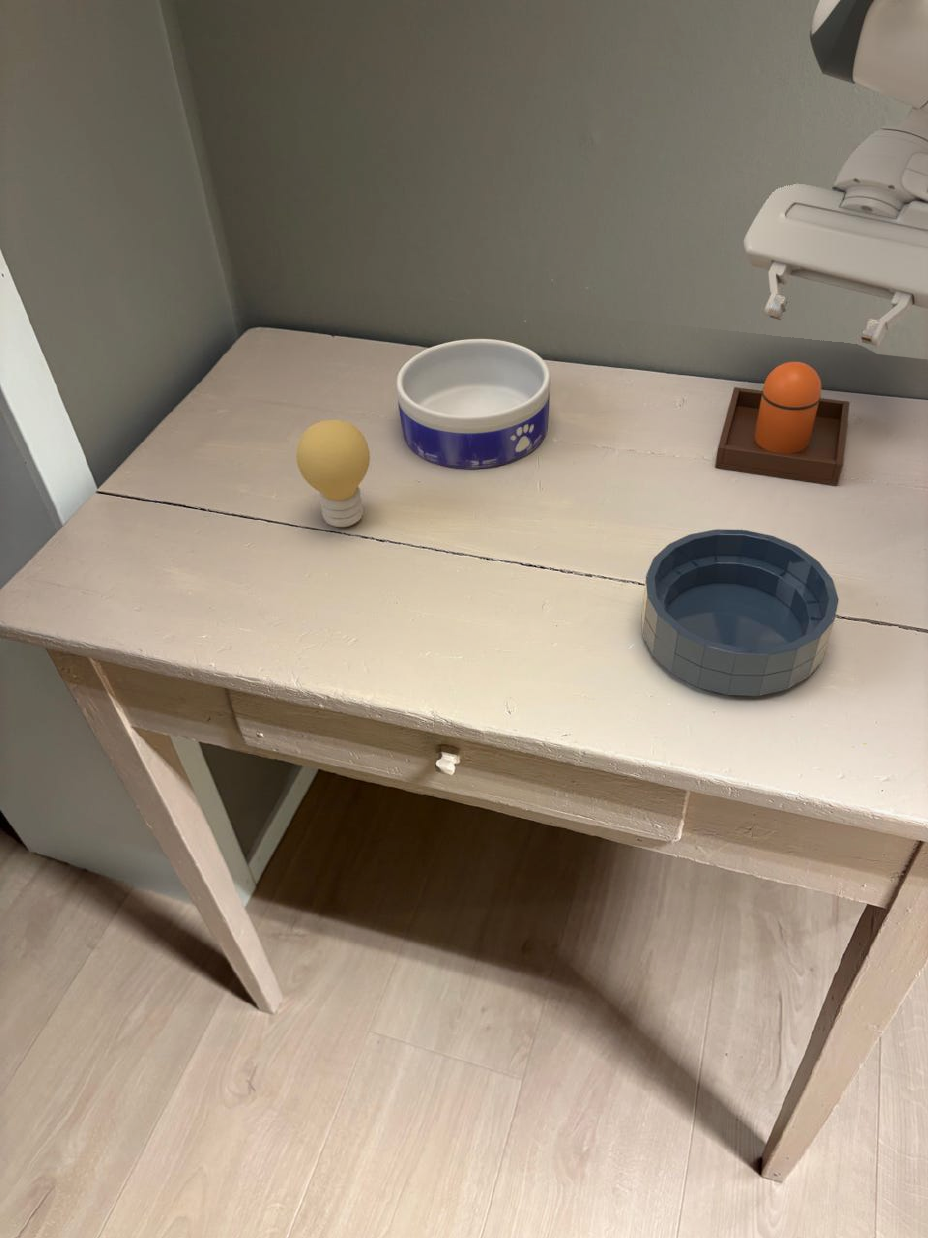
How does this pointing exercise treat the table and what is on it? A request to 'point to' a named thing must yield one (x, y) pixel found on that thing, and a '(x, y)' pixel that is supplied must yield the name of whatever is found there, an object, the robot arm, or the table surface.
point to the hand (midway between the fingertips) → (819, 328)
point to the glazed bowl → (738, 611)
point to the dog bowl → (474, 403)
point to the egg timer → (788, 408)
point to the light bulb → (335, 468)
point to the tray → (807, 465)
